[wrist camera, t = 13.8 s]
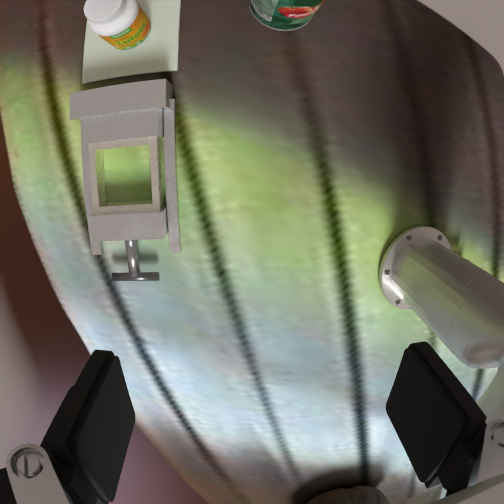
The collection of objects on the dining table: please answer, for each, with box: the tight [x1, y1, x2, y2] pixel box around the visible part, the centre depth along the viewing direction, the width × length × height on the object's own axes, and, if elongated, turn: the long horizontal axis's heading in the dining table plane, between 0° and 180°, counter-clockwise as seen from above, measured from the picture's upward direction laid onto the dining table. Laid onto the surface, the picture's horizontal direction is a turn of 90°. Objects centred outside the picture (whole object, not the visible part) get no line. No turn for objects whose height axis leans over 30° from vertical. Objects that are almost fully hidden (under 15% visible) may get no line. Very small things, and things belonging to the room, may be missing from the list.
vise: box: [70, 79, 181, 281], centre depth 33 cm, size 12×23×4 cm, turn 0°
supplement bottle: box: [84, 0, 151, 51], centre depth 24 cm, size 5×5×10 cm
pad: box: [82, 0, 181, 84], centre depth 29 cm, size 12×12×1 cm
